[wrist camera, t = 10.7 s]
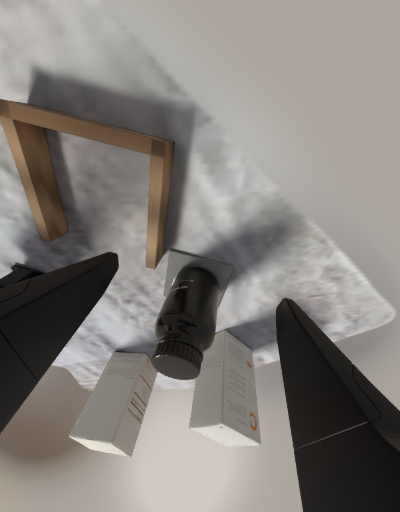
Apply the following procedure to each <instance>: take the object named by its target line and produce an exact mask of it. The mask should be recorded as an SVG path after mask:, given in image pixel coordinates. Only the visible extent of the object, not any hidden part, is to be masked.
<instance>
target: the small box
mask: <svg viewBox="0 0 400 512" xmlns="http://www.w3.org/2000/svg"><path fill="white" fill-rule="evenodd" d="M189 428H190V429H192V430H194V431H196V432H198V433H200V434H202V435H205V436H206V437H209V438H211V439H213V440H215V441H217V442H219V443H221V444H223V445H225V446H260V445H261V440H260V430H259V419H258V408H257V397H256V386H255V376H254V365H253V354H252V350H251V349H249V348H248V347H247V346H245V345H244V344H243V343H242V342H240V341H239V340H238V339H236V338H235V337H234V336H233V335H231V334H230V333H229V332H227V331H226V330H224V331H221V332H219V333H217V334H215V338H214V342H213V344H212V345H211V347H210V348H209V349H208V350H206V351H205V352H204V357H203V361H202V364H201V371H200V374H199V376H198V377H197V378H196V382H195V390H194V397H193V403H192V411H191V418H190V425H189Z"/></svg>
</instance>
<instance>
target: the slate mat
mask: <svg viewBox="0 0 400 512" xmlns="http://www.w3.org/2000/svg"><path fill="white" fill-rule="evenodd" d="M187 267H201V268H204V269H206V270H208V271H210V272H211V273H213V274H214V275H215V277H216V278H217V280H218V282H219V288H220V289H219V300H218V306H219V303H220V301H221V298H222V296H223V293H224V291H225V289H226V286H227V284H228V281H229V279H230V276H231V274H232V272H233V269H234V266H231V265H227V264H223V263H219V262H215V261H212V260H208V259H204V258H200V257H196V256H192V255H189V254H185V253H181V252H177V251H173V250H170V252H169V259H168V267H167V274H166V281H165V289H164V296H166V297H167V294H168V292H169V290H170V287H171V285H172V283H173V281H174V278H175V276H176V275H177V273H178V272H179V271H181V270H182V269H184V268H187Z"/></svg>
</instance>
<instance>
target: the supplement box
mask: <svg viewBox="0 0 400 512" xmlns="http://www.w3.org/2000/svg"><path fill="white" fill-rule="evenodd" d="M156 376H157V370H156V369H155V368H154V367H153V365H152V362H151V360H150V359H149V357H148V356H147V354H143V353H122V352H114V353H113V354H112V356H111V358H110V360H109V362H108V364H107V366H106V367H105V369H104V371H103V373H102V375H101V377H100V379H99V380H98V382H97V384H96V386H95V388H94V390H93V392H92V393H91V395H90V397H89V399H88V401H87V403H86V405H85V406H84V408H83V410H82V412H81V414H80V416H79V418H78V419H77V421H76V423H75V425H74V427H73V429H72V431H71V432H70V434H69V437H70V438H72V439H74V440H76V441H78V442H80V443H81V444H83V445H85V446H86V447H88V448H89V449H92V450H97V451H102V452H108V453H114V454H118V455H124V456H129V457H131V456H132V453H133V449H134V446H135V443H136V440H137V437H138V433H139V430H140V427H141V424H142V421H143V417H144V414H145V411H146V408H147V405H148V401H149V398H150V395H151V392H152V388H153V385H154V382H155V379H156Z"/></svg>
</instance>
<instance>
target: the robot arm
mask: <svg viewBox="0 0 400 512" xmlns="http://www.w3.org/2000/svg"><path fill="white" fill-rule="evenodd" d="M118 267H119V263H118V255H117V254H116V253H113V252H107V253H104V254H101V255H98V256H95V257H93V258H90V259H87V260H84V261H81V262H78V263H75V264H72V265H69V266H66V267H63V268H61V269H58V270H55V271H52V272H49V273H42V272H39V271H35V270H31V269H27V268H23V267H20V266H16V265H13V266H12V267H11V269H12V271H13V272H11V273H10V274H8V275H6V276H5V277H3V278H1V279H0V433H1V432H2V431H3V429H4V428H5V427H6V425H7V424H8V423H9V421H10V420H11V419H12V417H13V416H14V414H15V413H16V412H17V411H18V409H19V408H20V406H21V405H22V404H23V402H24V401H25V400H26V398H27V397H28V396H29V394H30V393H31V392H32V390H33V389H34V388H35V386H36V385H37V383H38V381H40V379H41V378H42V377H43V375H44V374H45V372H46V371H47V370H48V368H49V367H50V366H51V364H52V363H53V362H54V360H55V359H56V358H57V356H58V355H59V354H60V352H61V351H62V350H63V348H64V347H65V345H66V344H67V343H68V341H69V340H70V339H71V337H72V336H73V335H74V333H75V332H76V331H77V329H78V328H79V327H80V325H81V324H82V322H83V321H84V320H85V318H86V317H87V316H88V314H89V313H90V312H91V310H92V309H93V308H94V306H95V305H96V304H97V302H98V301H99V300H100V298H101V297H102V295H103V294H104V292H105V291H106V289H107V287H108V286H109V284H110V282H111V280H112V279H113V277H114V275H115V274H116V272H117V270H118ZM276 330H277V343H278V349H279V356H280V363H281V369H282V375H283V382H284V389H285V395H286V402H287V408H288V415H289V421H290V428H291V435H292V441H293V448H294V455H295V462H296V468H297V475H298V481H299V488H300V494H301V501H302V507H303V512H400V411H399V410H398V409H397V408H396V407H395V406H394V405H393V404H392V403H391V402H390V401H389V400H388V399H387V398H386V397H385V396H384V395H383V394H382V393H381V392H380V391H379V390H378V389H377V388H376V387H375V386H374V385H373V384H372V383H371V382H370V381H369V380H368V379H367V378H366V377H365V376H364V375H363V374H362V373H361V372H360V371H359V370H358V369H357V367H356V366H355V365H354V364H352V362H351V361H350V360H349V359H348V358H347V357H346V356H345V355H344V354H343V353H342V352H341V351H340V350H339V349H338V347H337V346H336V345H335V344H334V343H333V342H332V341H331V340H330V339H329V338H328V337H327V336H326V335H325V334H324V333H323V331H322V330H321V329H320V328H319V327H318V326H317V325H316V324H315V323H314V322H313V321H312V320H311V319H310V318H309V317H308V316H307V315H306V313H305V312H304V311H303V310H302V309H301V308H300V307H299V306H298V305H297V304H296V303H295V302H294V301H293V300H292V299H288V298H283V299H282V301H281V302H280V304H279V305H278V306H277V308H276Z"/></svg>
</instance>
